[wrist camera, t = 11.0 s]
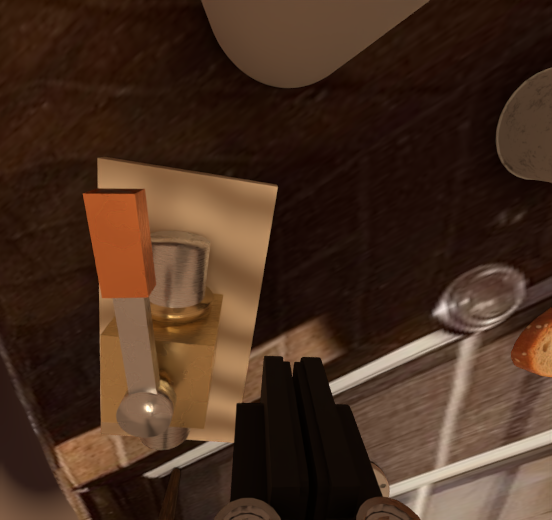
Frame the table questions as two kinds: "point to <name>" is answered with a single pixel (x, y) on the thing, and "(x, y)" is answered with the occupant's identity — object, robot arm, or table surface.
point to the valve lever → (130, 303)
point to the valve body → (172, 336)
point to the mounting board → (221, 266)
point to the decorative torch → (170, 497)
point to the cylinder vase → (300, 34)
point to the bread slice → (535, 346)
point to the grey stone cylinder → (528, 129)
